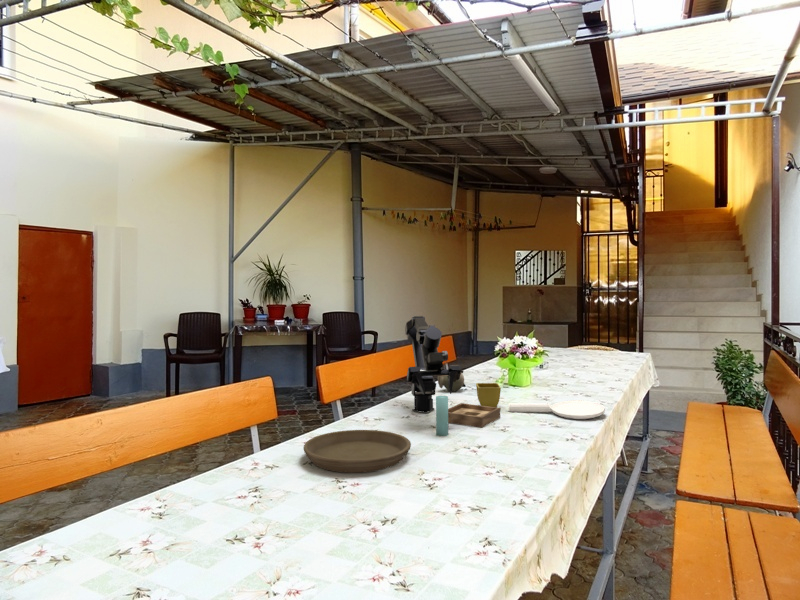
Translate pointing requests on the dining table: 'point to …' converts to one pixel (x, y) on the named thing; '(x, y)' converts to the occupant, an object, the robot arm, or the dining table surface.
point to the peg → (442, 415)
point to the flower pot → (488, 394)
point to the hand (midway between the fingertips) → (437, 393)
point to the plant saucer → (357, 450)
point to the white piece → (562, 408)
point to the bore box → (473, 415)
